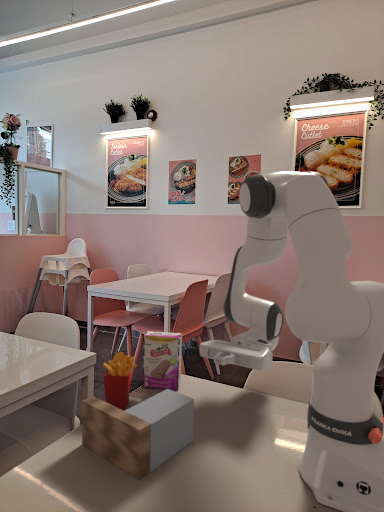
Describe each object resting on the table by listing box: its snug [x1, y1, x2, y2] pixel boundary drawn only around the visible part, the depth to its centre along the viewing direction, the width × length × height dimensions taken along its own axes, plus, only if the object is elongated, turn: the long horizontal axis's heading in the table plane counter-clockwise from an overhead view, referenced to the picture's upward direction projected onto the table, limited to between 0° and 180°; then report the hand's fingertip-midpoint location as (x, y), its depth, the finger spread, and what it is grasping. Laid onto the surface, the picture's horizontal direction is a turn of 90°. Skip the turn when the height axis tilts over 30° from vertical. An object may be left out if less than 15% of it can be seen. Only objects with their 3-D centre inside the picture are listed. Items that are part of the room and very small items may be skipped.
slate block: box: [125, 389, 195, 473], centre depth 79 cm, size 8×14×10 cm, turn 142°
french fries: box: [102, 351, 138, 411], centre depth 98 cm, size 9×8×15 cm
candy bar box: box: [142, 330, 183, 391], centre depth 110 cm, size 11×5×16 cm, turn 84°
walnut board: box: [81, 395, 151, 481], centre depth 76 cm, size 18×3×10 cm, turn 53°
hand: (218, 361), depth 94 cm, fingers closed
